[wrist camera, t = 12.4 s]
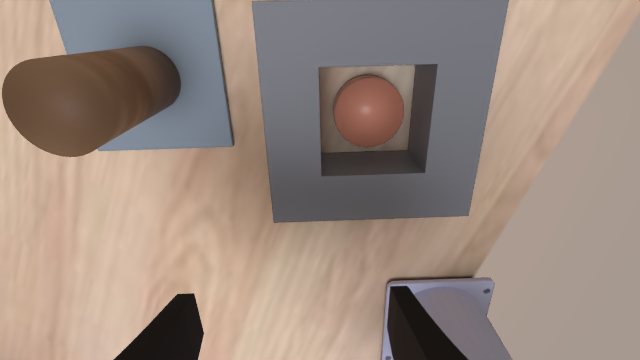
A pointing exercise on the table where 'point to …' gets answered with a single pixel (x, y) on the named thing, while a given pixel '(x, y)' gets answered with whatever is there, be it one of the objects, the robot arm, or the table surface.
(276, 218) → the frame
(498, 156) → the table surface
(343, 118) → the orange domed disc
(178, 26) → the mat
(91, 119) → the dowel
